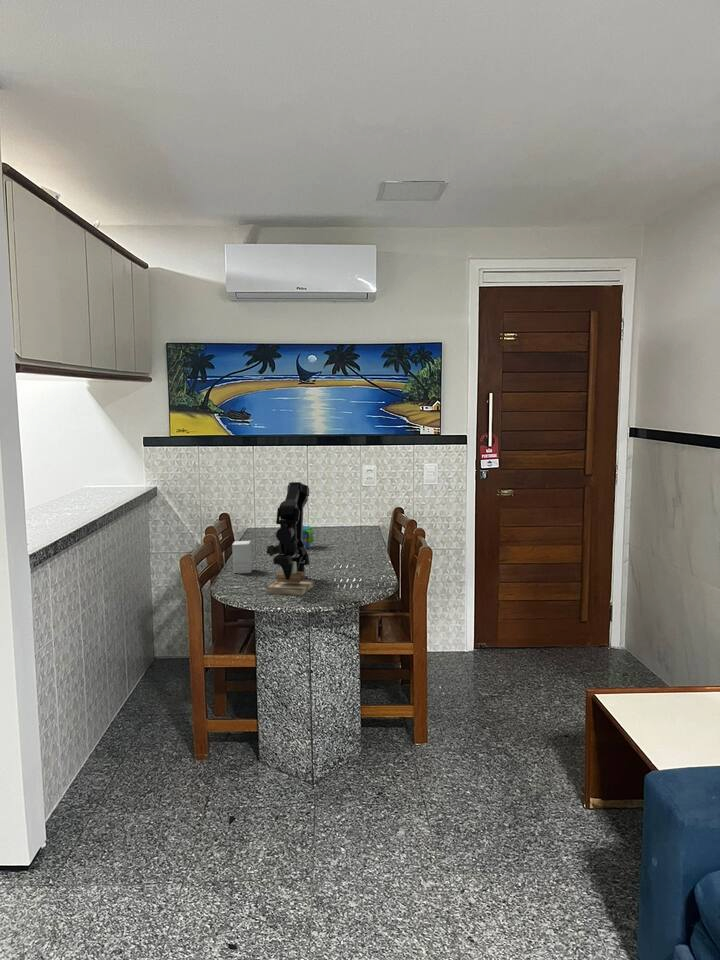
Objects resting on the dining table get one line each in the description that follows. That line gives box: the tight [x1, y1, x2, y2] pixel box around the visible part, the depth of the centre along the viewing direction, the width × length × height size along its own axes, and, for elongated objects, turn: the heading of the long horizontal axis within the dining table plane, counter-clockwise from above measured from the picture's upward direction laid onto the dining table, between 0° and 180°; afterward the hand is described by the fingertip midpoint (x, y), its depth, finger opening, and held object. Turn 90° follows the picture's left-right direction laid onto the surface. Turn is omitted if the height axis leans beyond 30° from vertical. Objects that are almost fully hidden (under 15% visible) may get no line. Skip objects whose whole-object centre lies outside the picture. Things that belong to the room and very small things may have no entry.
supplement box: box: [231, 540, 253, 574], centre depth 303 cm, size 7×7×13 cm
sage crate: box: [291, 562, 297, 574], centre depth 272 cm, size 4×4×4 cm
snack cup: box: [302, 525, 315, 550], centre depth 348 cm, size 16×10×10 cm
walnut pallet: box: [276, 570, 304, 583], centre depth 273 cm, size 6×9×3 cm, turn 74°
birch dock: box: [266, 579, 315, 596], centre depth 273 cm, size 14×14×2 cm
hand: (290, 577), depth 273 cm, fingers closed on walnut pallet, 6 cm apart
